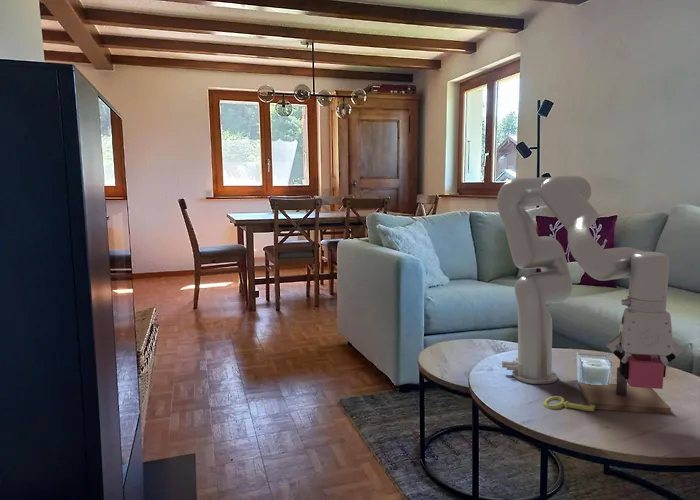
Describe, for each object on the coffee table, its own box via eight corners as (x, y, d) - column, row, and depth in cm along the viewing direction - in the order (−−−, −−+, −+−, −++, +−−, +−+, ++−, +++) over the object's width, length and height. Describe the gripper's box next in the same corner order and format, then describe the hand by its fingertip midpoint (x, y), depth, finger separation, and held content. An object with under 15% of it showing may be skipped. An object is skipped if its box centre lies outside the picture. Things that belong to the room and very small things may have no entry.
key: (596, 416, 118) (596, 408, 118) (543, 409, 123) (543, 401, 123) (593, 404, 125) (593, 396, 125) (543, 398, 129) (543, 391, 129)
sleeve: (630, 386, 110) (632, 362, 110) (621, 375, 117) (623, 352, 116) (662, 389, 109) (664, 364, 108) (651, 377, 115) (653, 353, 114)
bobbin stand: (590, 408, 121) (591, 376, 120) (578, 386, 135) (579, 358, 134) (670, 414, 117) (671, 380, 116) (649, 391, 131) (650, 361, 130)
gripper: (610, 307, 109) (605, 381, 111) (696, 311, 104) (690, 388, 107) (601, 299, 116) (597, 369, 118) (682, 302, 112) (676, 374, 114)
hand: (641, 377), depth 113 cm, fingers closed on sleeve, 6 cm apart
